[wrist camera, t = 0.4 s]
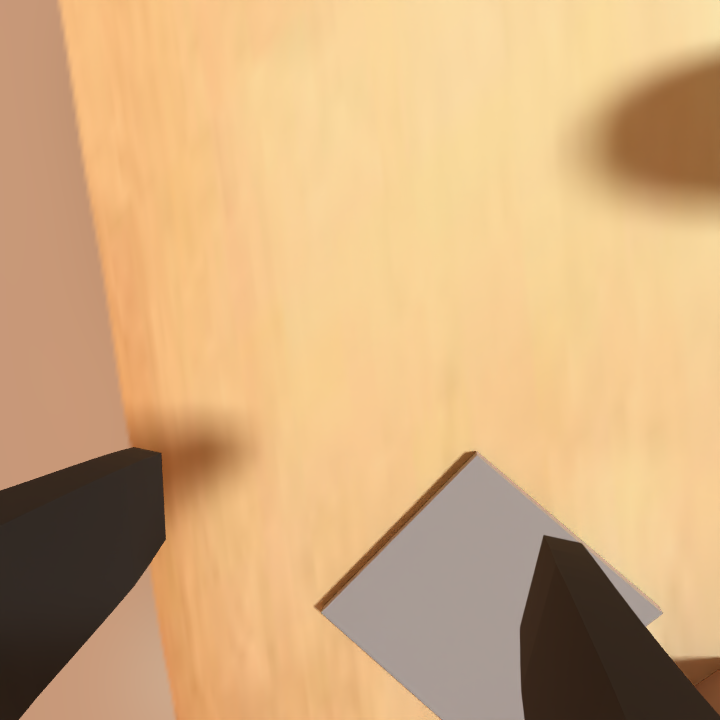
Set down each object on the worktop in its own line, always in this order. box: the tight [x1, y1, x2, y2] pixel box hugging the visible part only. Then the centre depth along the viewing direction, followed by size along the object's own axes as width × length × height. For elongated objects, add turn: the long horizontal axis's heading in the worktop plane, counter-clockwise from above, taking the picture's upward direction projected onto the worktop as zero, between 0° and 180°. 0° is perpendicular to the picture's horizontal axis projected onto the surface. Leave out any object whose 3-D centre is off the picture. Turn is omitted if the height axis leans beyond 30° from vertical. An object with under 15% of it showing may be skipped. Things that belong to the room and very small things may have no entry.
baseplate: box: [321, 452, 663, 720], centre depth 20 cm, size 10×9×1 cm
